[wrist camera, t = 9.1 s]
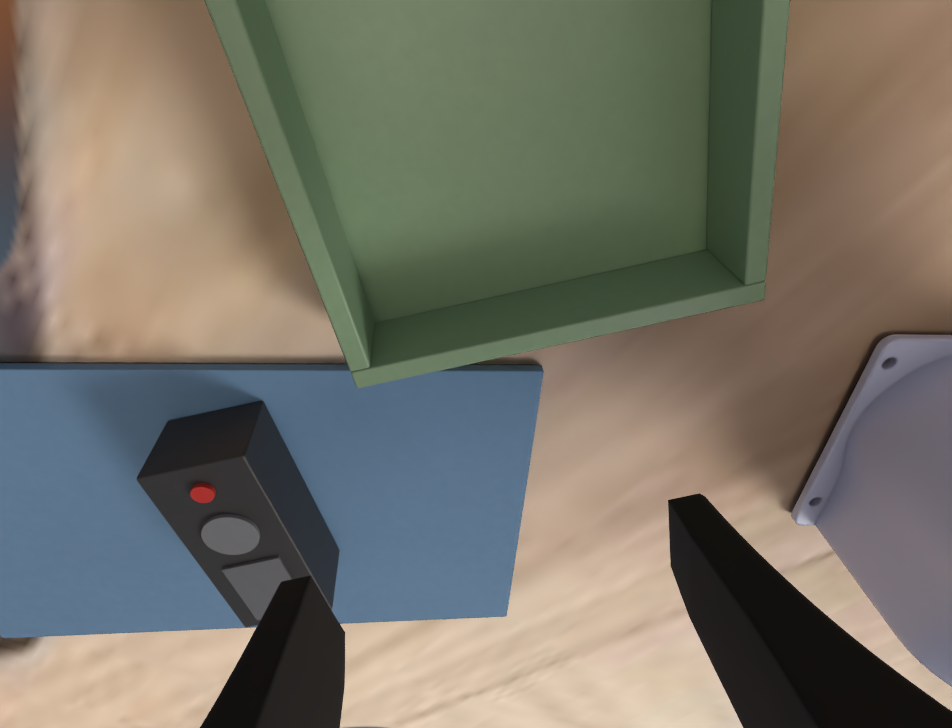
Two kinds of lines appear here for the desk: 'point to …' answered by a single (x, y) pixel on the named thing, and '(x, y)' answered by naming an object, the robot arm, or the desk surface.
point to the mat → (318, 460)
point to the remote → (240, 506)
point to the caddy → (514, 164)
